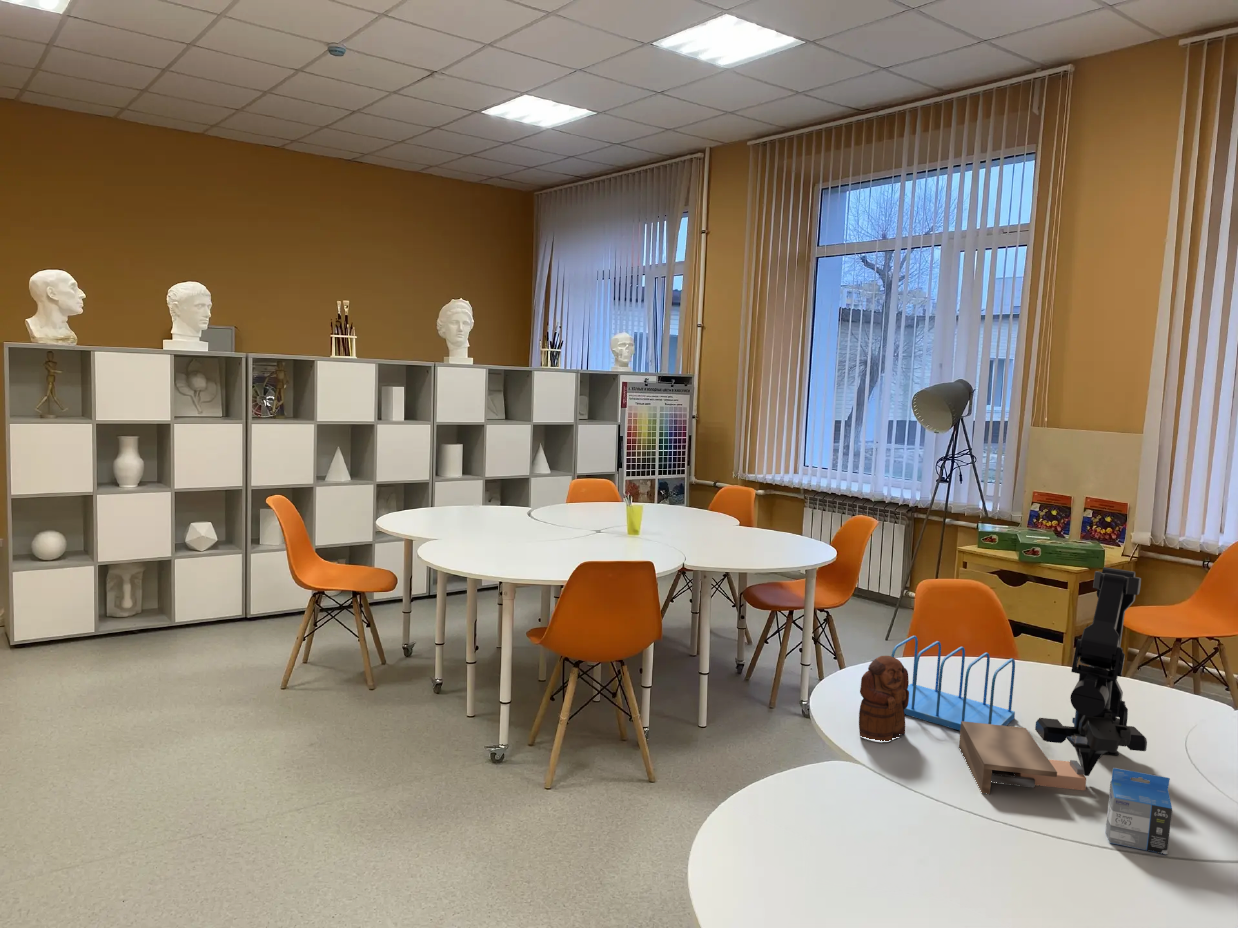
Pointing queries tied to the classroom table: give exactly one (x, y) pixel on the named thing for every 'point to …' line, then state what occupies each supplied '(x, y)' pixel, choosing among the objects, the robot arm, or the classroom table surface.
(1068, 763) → the pink slab with nub
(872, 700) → the wooden figurine
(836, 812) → the classroom table surface
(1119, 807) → the label tape box
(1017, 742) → the low shelf
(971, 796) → the classroom table surface
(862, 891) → the classroom table surface
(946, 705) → the file sorter
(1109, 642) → the robot arm
